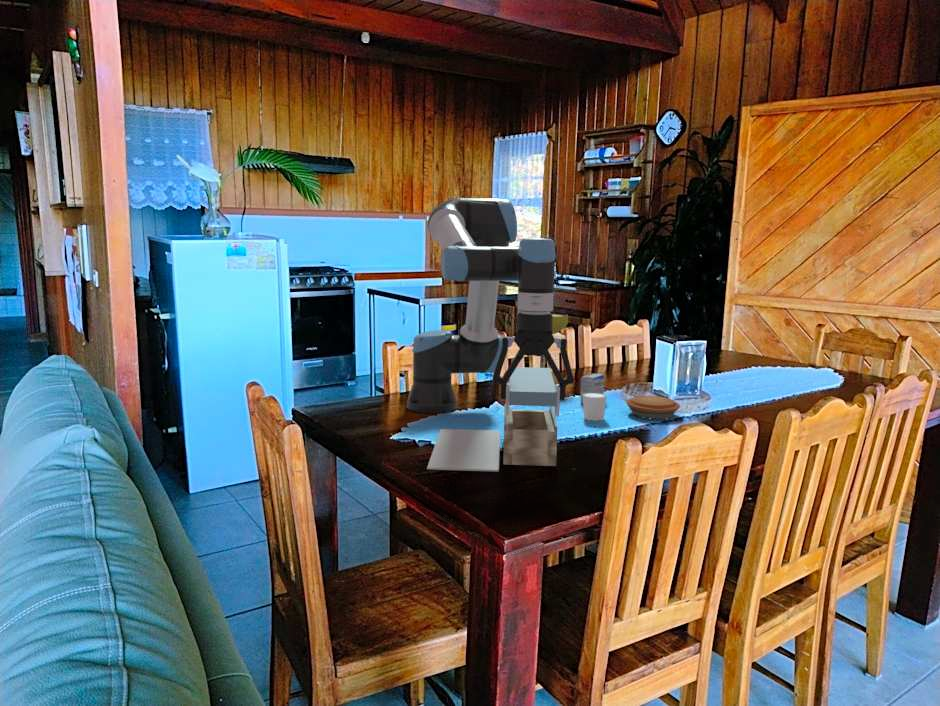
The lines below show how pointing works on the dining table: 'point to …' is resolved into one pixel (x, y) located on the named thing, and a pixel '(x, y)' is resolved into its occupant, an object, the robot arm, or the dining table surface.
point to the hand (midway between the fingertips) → (531, 414)
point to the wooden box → (530, 437)
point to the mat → (466, 450)
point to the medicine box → (592, 384)
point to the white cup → (594, 406)
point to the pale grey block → (532, 387)
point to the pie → (652, 407)
